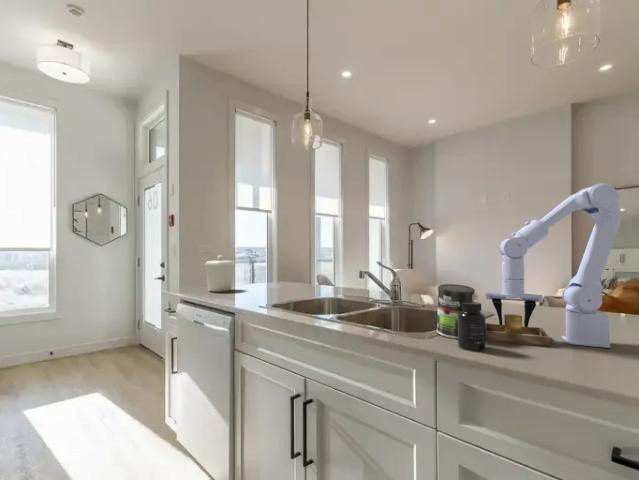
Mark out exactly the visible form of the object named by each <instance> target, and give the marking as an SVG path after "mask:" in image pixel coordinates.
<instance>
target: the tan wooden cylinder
mask: <svg viewBox="0 0 639 480" xmlns="http://www.w3.org/2000/svg"><path fill="white" fill-rule="evenodd" d="M503 320H504V325H505V333H513V334H522V326H523V316H522V315H519V314H509V313H508V314H504V318H503Z"/></svg>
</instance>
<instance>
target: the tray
mask: <svg viewBox="0 0 639 480" xmlns="http://www.w3.org/2000/svg"><path fill="white" fill-rule="evenodd" d="M486 342H495V343H506V344H515V345H524V346H533V347H534V346H535V347H542V348H543V347H545V348H550V345H551V343H550V336H549V335H548V334H547V333H546V331H545V330H544V328H543V327H538V326H536V327H535V326H528V327H525V326H524V325H522V334H513V333H505V324H502V325H500V324H499V323H488V322H486Z"/></svg>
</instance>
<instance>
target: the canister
mask: <svg viewBox="0 0 639 480" xmlns="http://www.w3.org/2000/svg"><path fill="white" fill-rule="evenodd" d="M216 259H217V260H215V259H214V260H208V261H206V262H205V263H203V265H204V266H205V274H206V275H205V278H206V285H207V289H208V291H210V292H212V293H215V292H216V293H222V292H223V293H224V292H229V291H231V290H232V287H233V281H234V274H235V265H236V262H234V260H227V259H224V256H223V255H220V254H219V255H217V256H216Z"/></svg>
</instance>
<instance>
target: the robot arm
mask: <svg viewBox="0 0 639 480" xmlns="http://www.w3.org/2000/svg"><path fill="white" fill-rule="evenodd" d="M620 197H621V195H620V193H619V192H618V191H617V190H616V188H614V187H613V185H611V184H609V183H603V182H602V183H597V184H594V185H593V186H589V187H585V188H582V189H580V190H578V191H577V192H576V193H574V194H571V195H569V196H568V197H566V198H565V199H564V200H563V201H562V202H560V203H559V204H558V205H556V206H555V207H554V208H553V209H552V210H550V212H548V213H547V214H545V216H544V217H542V218H541V219H540V220H538V219H532V220H531V221H529V220H528V221H526V222H524V223H523V224H524V226H522V228H519V230H518V231H516V232H512V233H511V234H510V236H511V237H510V238H506V239H503V241H501V243H500V246H499V248H498V250H499V253H500V254H501V260H502V262H501V290H502V291H501V292H500V291H498V292H496V291H495V292H494V291H493V292H491V291H490V292H485V300H491V302H492V304H493V306H494V309H495V310H496V314H497V317H498V324H500V325H503V314H502V312H503V311H502V309H503V307H502V306H503V303H502V301H512V302H513V301H516V302H523V303H524V304H523V305H524V307H523V308H524V319H523V323H524V325H523V326H525V327H529V323H530V320H531V319H530V318H531V316H532V314H533V312H534V310H535V309H536V307H537V303H544V299H543V298H544V297H543V294H532V293H531V294H530V293H525V259H524V256H525V255H526V254H527V252H528V249H532V248H533V246H535V245H536V244H538V243H539V242H540V241H542V240H543V239H545V238H546V237H547V236H548V235H549V229H550V228H551V227H553V226H554V225H556V224H557V223H559V222H560V221H562V220H563V219H565V218H566V217H567V216H569V215H570V214H572V213H573V212H575V211H578V210H579V211H580V210H582V211H583V212H584V213H586V214H588V215H589V216H590V218H592V220H593V221H594V226H593V229H592V231H591V234H590V236H589V239H588V242H587V245H586V248H585V251H584V253H583V256H582V259H581V262H580V263H579V268H578V269H577V272H576V275H574V276H573V277H572V278H571V279H570V280H569V283H568V285H567V286H566V287H565V288H563V290H562V292H561V299H562V300H563V303H565V304H566V306H565V335H561V338H562V340H564V341H565V342H566V344H568V345H573V346H574V345H575V346H587V347H596V348H607V349H610V348H611V345H610V319H609V316H608V314H607V313H606V312H603V311H602V312H599V311H598V310H599V309H600V308H601V307H602V305H603V298H602V297H603V296H602V293H603V290H604V288H603V285H602V283H601V277H602V275H603V273H604V271H605V268H606V264H607V262H608V258H609V256H610V254H611V251H612V248H613V245H614V242H615V240H616V237H617V235H618V233H619V232H618V231H619V229H620V226H621V224H622V219H623V216H622V211H621V207H620V201H619V200H620Z"/></svg>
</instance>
